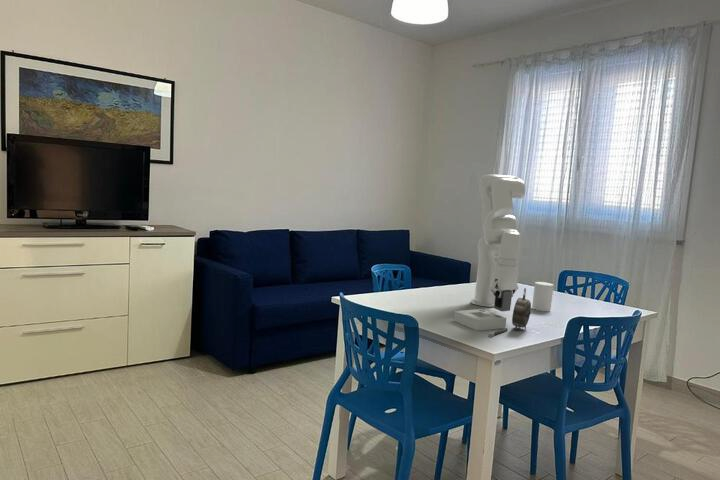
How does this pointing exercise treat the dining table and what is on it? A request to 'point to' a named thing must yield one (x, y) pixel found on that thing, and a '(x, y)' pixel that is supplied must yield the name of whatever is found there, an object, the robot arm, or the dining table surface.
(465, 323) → the plate
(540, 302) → the cup
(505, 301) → the charger
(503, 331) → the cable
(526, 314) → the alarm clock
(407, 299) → the dining table surface
